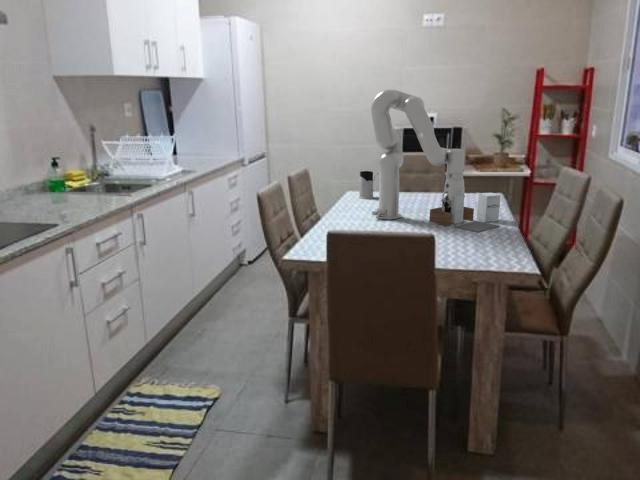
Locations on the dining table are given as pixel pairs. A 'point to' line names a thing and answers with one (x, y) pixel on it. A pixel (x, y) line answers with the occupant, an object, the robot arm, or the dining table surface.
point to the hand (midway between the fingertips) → (452, 213)
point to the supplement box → (488, 207)
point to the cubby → (448, 216)
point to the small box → (456, 208)
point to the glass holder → (366, 184)
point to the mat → (477, 226)
